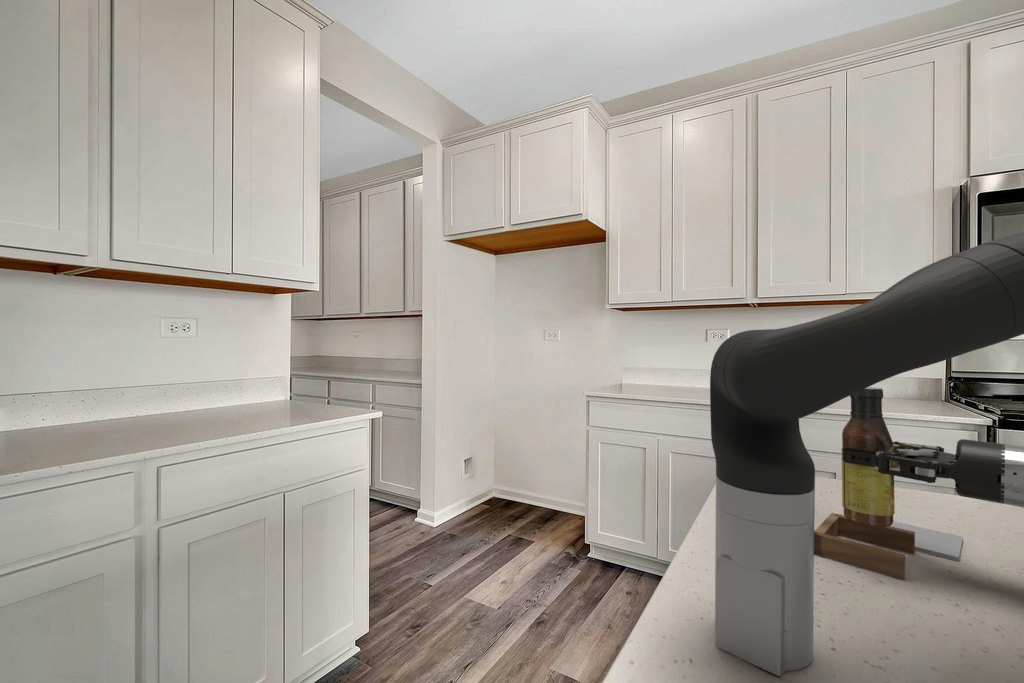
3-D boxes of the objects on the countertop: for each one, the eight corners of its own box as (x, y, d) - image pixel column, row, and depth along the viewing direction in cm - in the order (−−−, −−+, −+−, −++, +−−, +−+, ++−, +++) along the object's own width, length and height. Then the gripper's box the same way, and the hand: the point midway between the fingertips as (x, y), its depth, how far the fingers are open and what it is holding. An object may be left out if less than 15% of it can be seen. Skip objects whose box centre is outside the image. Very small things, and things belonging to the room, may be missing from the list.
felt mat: (958, 561, 68) (958, 557, 68) (880, 541, 74) (880, 537, 74) (962, 540, 75) (962, 536, 75) (890, 524, 81) (890, 520, 81)
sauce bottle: (904, 531, 66) (906, 390, 66) (854, 527, 67) (856, 389, 67) (878, 514, 73) (879, 385, 72) (833, 511, 74) (834, 384, 74)
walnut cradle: (903, 580, 63) (903, 557, 63) (811, 553, 70) (812, 533, 70) (914, 551, 71) (915, 532, 71) (831, 530, 78) (831, 512, 78)
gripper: (1007, 436, 65) (858, 420, 77) (1009, 454, 55) (837, 432, 67) (1006, 491, 65) (857, 466, 77) (1007, 518, 55) (836, 484, 67)
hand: (848, 450), depth 72 cm, fingers closed on sauce bottle, 6 cm apart
